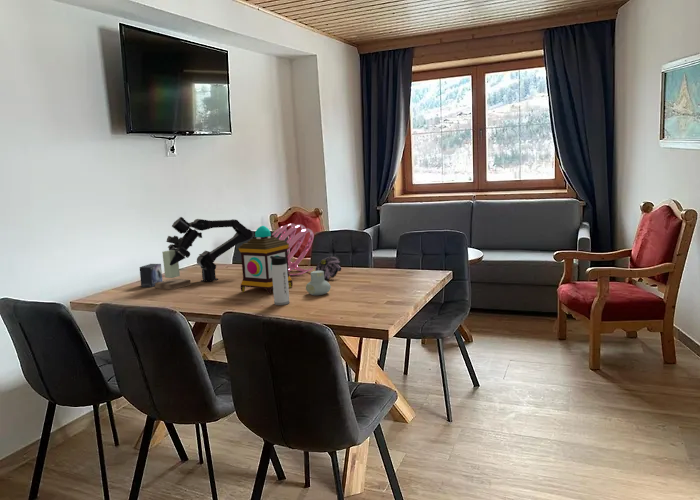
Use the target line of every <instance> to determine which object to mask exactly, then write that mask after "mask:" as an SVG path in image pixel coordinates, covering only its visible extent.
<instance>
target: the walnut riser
mask: <svg viewBox="0 0 700 500" xmlns="http://www.w3.org/2000/svg"><path fill="white" fill-rule="evenodd" d="M191 285H192V284H191V279H184V278H169V279H167V280H162V282H158V283H155V286H154V287H155V289H161V290H162V289H163V290H170V291H173V290H176V289H177V290H178V289H180V288H183V287H188V286H191Z"/></svg>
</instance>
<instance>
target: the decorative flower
mask: <svg viewBox="0 0 700 500" xmlns="http://www.w3.org/2000/svg"><path fill="white" fill-rule="evenodd" d="M339 263H342V261H341V258H339V257H338V256H335V255H334V256H328V257H324V258H323V259H321V260H320V261H319V262H318V263H317V265H316V267H315V270H314V271H323V272H324V280H325V281H327V282H329V280H330V277H331V278H333V279H334V278H335V277H336V276H337V275H338V272H341V271H342V267H341V266H340V265H339Z"/></svg>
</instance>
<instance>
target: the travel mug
mask: <svg viewBox="0 0 700 500" xmlns="http://www.w3.org/2000/svg"><path fill="white" fill-rule="evenodd" d="M270 258H271V262H272V263H271V265H272V279H273V288H272V292H273V303H274V305H275V306H286V305H288V304H290V292H289V291H290V290H289V283H288V274H287V262H286V257H282V256H270Z"/></svg>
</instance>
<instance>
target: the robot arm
mask: <svg viewBox="0 0 700 500" xmlns="http://www.w3.org/2000/svg"><path fill="white" fill-rule="evenodd" d="M171 228H173V229H174V230H175V231H176V232H178V233H179V234H183V236H182V237H179V236H177V235H173V236H171V235H167V238H166V241H165V242H167V243H169V245H168V246H167V248H168V251H169V250H175V255H174V257H173V259H172V261H171V262H170V265H173V264H175V263H177V262H178V263H179V262H180V261H183V260H184V259H185V260H186V258H189V257H190V256H191V252H190V251H189V250H188V249H189V248H190V247H193V243H194V242H195V241H196V240H197V239H198V238H200V239H203V235H202V234H203V232H201V231H206V230H210V229H215V228H216V229H217V228H232V229H233V230H234V232H235V234H234V235H233V237H232V236H231V238H229V239H228V240H226V241H225V242H223V243H221V244H220V245H219V246H217V247H215V248H214V249H213V250H211V251H208V250H204V251H203V252H202V253H200V254H198V256H197V257H196V264H198V266H200V268H201V277H202V278H201V280H200V282H208V283H210V282H214V281H217V280H219V278H217V277H216V269H217V264H215V261H216V260H217V258H218V257H220V256H222V255H223V254H225V253H226V252H228V251H229V250H230V249H232V248H233V247H236V246H237V245H238V244H241V243H245V242H248V241H250V239H252V238H253V232H252V230H251V229H249V228H247V227H246V226H244V225H243V224H242V223H241V221H239V220H238V219H219V220H218V219H216V220H214V219H213V220H211V219H201V218H196V219H194V221H192V222H191V221H190V222H188V221H187V220H186V219H185V217H182V216H180V217H178V218H177V219H176V220H174V222H173V223H172V225H171ZM192 228H193V229H192ZM199 231H200V232H199ZM176 250H177V251H176Z"/></svg>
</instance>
